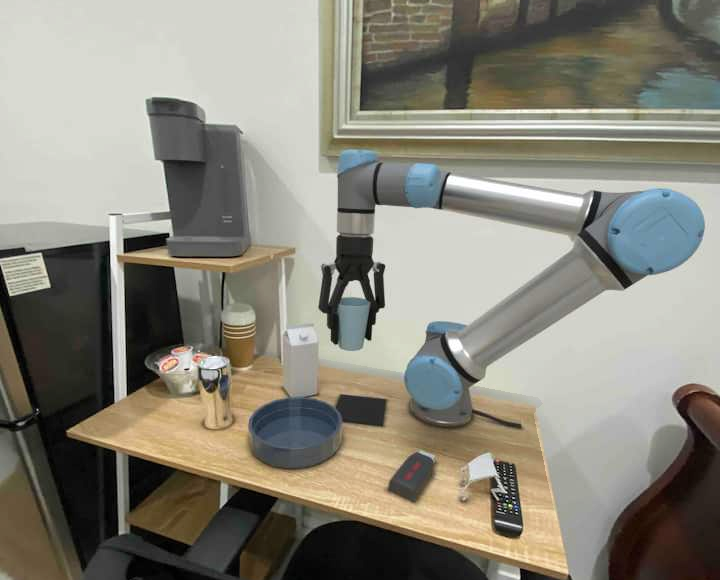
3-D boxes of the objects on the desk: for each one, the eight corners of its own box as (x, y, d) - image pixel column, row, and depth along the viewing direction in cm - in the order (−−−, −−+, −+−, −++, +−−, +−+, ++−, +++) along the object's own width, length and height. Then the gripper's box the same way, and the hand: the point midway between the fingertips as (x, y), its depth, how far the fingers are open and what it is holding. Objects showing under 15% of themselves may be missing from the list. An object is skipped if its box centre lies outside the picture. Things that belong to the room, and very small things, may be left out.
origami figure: (503, 515, 67) (508, 493, 65) (454, 500, 70) (458, 478, 68) (505, 472, 78) (510, 452, 76) (463, 461, 80) (466, 441, 79)
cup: (374, 350, 86) (376, 304, 82) (341, 355, 82) (342, 307, 79) (359, 338, 92) (361, 296, 88) (329, 342, 89) (329, 298, 85)
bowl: (347, 420, 92) (348, 402, 90) (331, 476, 74) (332, 454, 72) (268, 411, 94) (267, 392, 92) (234, 463, 76) (232, 441, 74)
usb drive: (388, 490, 71) (389, 478, 70) (414, 456, 81) (416, 445, 80) (414, 502, 69) (415, 490, 68) (438, 465, 79) (440, 454, 78)
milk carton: (283, 387, 105) (282, 321, 99) (307, 383, 109) (308, 318, 102) (291, 399, 100) (291, 330, 93) (317, 394, 103) (318, 326, 96)
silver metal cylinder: (203, 433, 85) (196, 370, 79) (202, 416, 91) (195, 357, 85) (236, 427, 87) (232, 366, 82) (233, 411, 93) (229, 354, 88)
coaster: (385, 400, 102) (385, 399, 102) (382, 426, 91) (382, 424, 90) (340, 395, 103) (340, 394, 103) (331, 420, 92) (331, 418, 92)
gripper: (390, 232, 86) (383, 330, 94) (301, 232, 78) (302, 339, 86) (407, 236, 79) (398, 341, 87) (312, 237, 72) (312, 352, 80)
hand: (351, 340), depth 87 cm, fingers closed on cup, 7 cm apart
